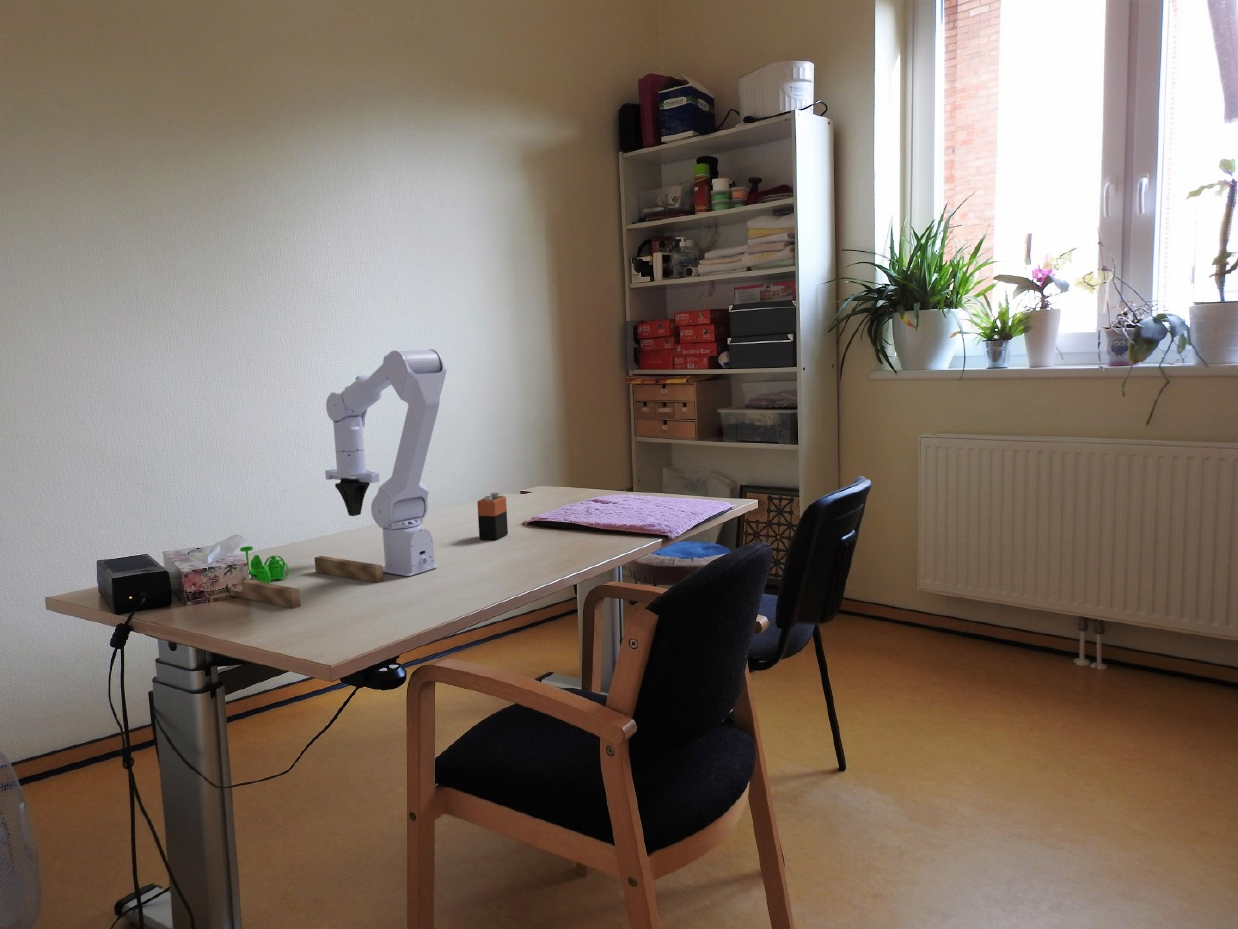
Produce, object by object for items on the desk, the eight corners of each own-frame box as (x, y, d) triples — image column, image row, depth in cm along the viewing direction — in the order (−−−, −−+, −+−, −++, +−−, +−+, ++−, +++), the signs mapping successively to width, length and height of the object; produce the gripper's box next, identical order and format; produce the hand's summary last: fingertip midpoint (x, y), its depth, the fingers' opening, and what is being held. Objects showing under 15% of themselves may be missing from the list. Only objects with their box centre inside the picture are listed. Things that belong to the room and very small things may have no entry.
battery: (508, 534, 209) (506, 492, 207) (496, 541, 202) (493, 497, 201) (491, 534, 210) (489, 491, 209) (478, 540, 204) (476, 496, 202)
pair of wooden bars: (383, 580, 170) (382, 565, 170) (293, 608, 154) (291, 591, 153) (321, 570, 180) (320, 555, 180) (230, 595, 164) (229, 579, 163)
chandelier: (299, 571, 182) (296, 537, 181) (279, 590, 167) (276, 554, 166) (221, 575, 180) (218, 541, 179) (195, 596, 165) (191, 559, 165)
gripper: (388, 449, 185) (393, 514, 187) (342, 447, 193) (347, 509, 195) (361, 453, 179) (366, 520, 181) (315, 450, 188) (320, 515, 189)
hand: (354, 515), depth 188 cm, fingers closed
